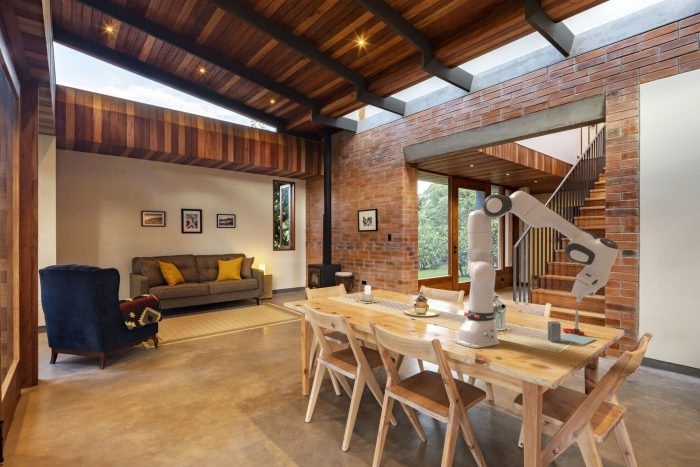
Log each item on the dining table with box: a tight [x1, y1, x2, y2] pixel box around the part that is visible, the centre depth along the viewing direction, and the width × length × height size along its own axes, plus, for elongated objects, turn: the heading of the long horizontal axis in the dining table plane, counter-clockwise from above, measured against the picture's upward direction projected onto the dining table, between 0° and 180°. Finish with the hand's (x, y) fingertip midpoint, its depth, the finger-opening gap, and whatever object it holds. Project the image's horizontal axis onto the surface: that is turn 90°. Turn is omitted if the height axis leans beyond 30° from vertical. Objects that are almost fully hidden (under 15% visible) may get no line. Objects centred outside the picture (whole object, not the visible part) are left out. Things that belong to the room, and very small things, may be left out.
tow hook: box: [562, 308, 585, 335], centre depth 180 cm, size 8×13×9 cm
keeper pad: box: [561, 332, 596, 346], centre depth 168 cm, size 13×12×1 cm
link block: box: [547, 320, 562, 343], centre depth 166 cm, size 4×4×9 cm
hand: (584, 298), depth 156 cm, fingers open, 8 cm apart
